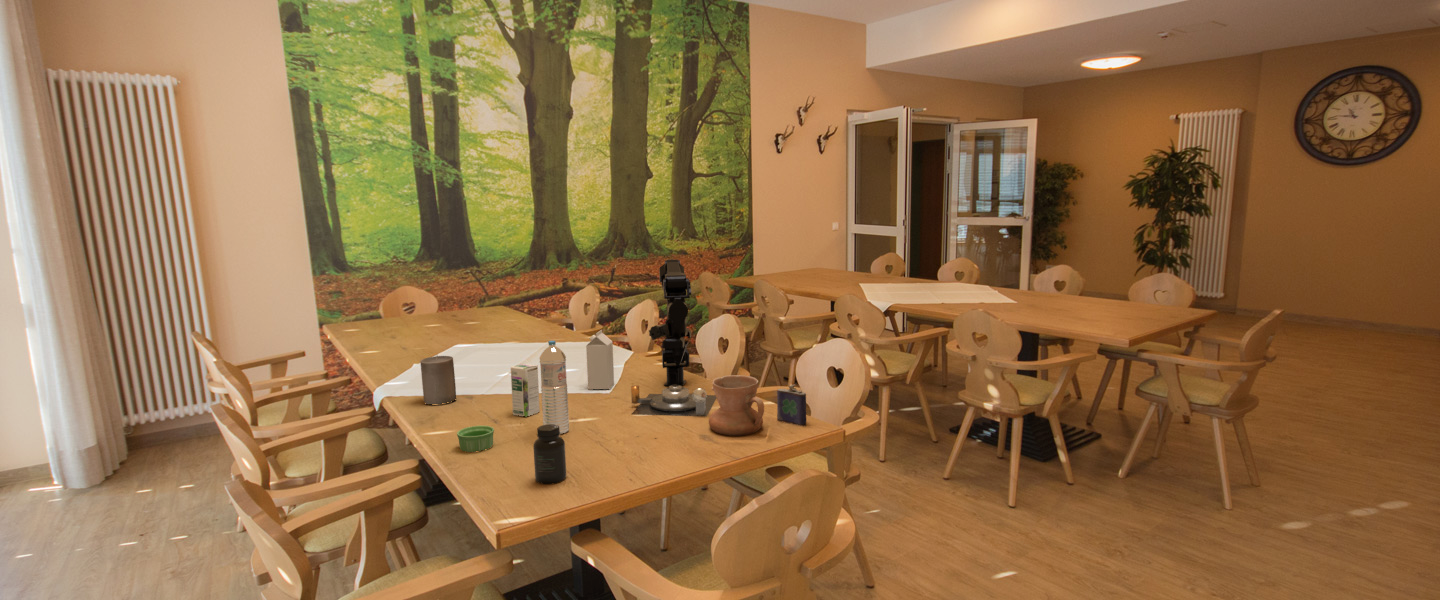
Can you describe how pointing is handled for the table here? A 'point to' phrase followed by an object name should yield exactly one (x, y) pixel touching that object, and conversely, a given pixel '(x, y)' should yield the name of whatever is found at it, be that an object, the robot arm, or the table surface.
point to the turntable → (661, 402)
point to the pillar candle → (438, 379)
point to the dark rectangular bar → (700, 400)
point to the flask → (791, 406)
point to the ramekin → (475, 438)
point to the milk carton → (600, 362)
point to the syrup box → (525, 389)
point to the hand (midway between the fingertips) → (678, 365)
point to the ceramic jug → (736, 406)
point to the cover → (675, 394)
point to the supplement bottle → (549, 455)
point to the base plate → (648, 410)
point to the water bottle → (554, 387)
